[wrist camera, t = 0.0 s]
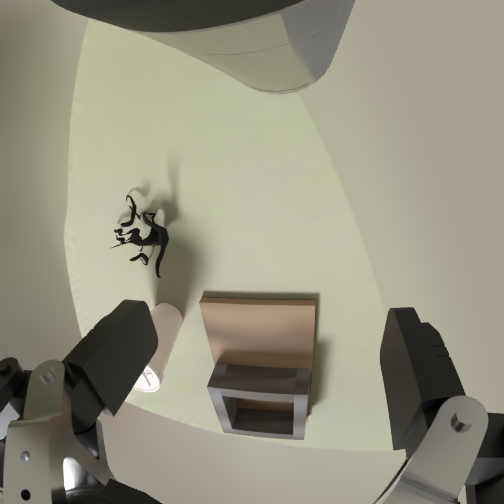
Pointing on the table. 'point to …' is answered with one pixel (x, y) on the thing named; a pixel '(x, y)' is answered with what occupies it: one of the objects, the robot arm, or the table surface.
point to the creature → (155, 237)
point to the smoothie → (160, 346)
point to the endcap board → (261, 364)
